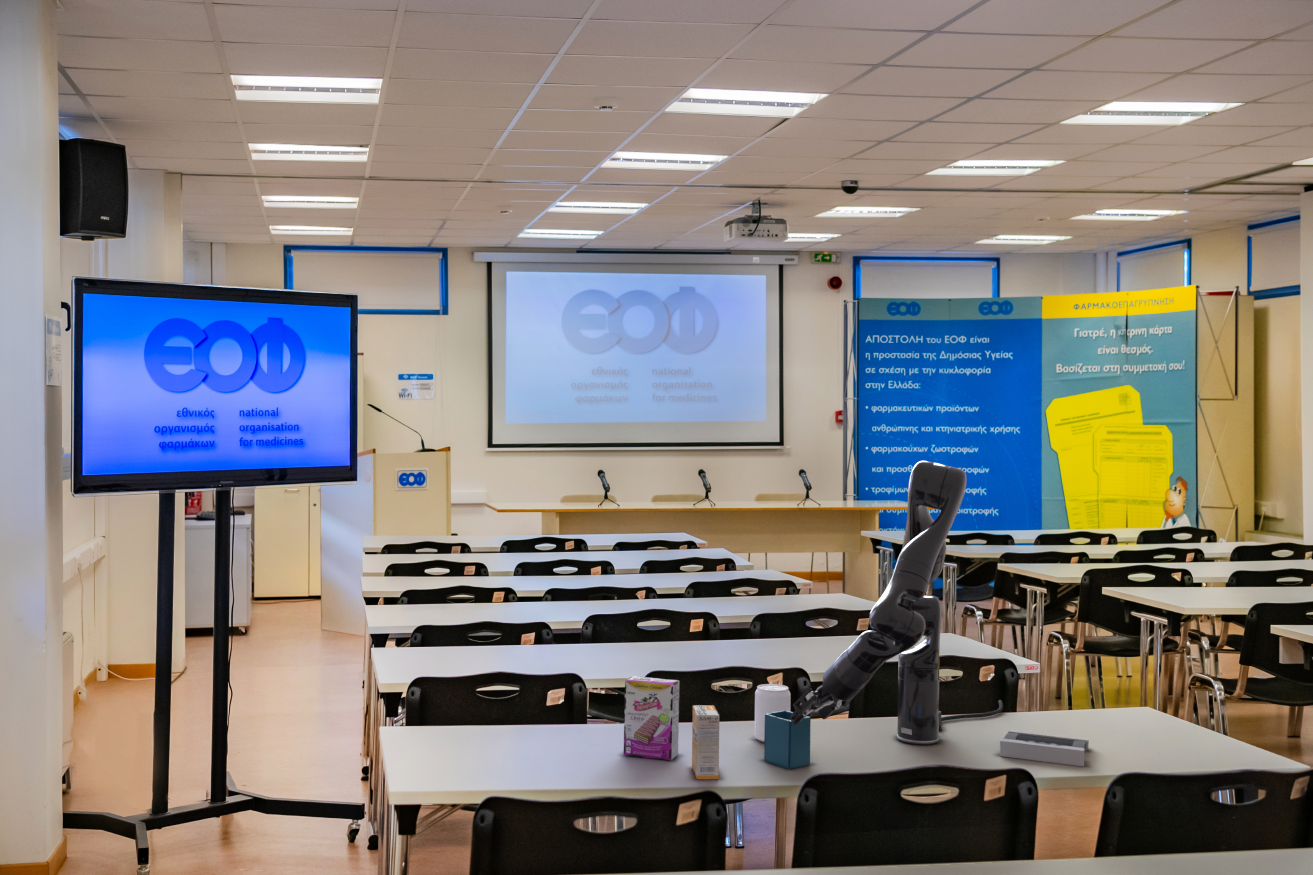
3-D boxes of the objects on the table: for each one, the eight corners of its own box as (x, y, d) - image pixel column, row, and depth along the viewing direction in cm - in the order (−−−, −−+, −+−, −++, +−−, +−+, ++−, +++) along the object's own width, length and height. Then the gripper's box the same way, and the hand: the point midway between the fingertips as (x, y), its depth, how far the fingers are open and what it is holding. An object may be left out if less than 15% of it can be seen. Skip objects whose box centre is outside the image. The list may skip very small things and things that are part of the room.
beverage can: (788, 745, 247) (789, 691, 247) (752, 742, 248) (753, 689, 248) (791, 736, 255) (792, 684, 255) (756, 733, 256) (757, 682, 256)
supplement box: (690, 767, 228) (691, 704, 228) (713, 767, 228) (714, 704, 228) (695, 779, 220) (696, 714, 220) (719, 779, 220) (720, 714, 220)
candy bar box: (622, 755, 236) (623, 679, 236) (630, 750, 241) (631, 675, 241) (671, 761, 232) (673, 683, 233) (679, 755, 237) (680, 679, 237)
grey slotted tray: (1000, 740, 240) (1009, 718, 255) (1000, 761, 241) (1009, 738, 255) (1083, 750, 233) (1088, 727, 248) (1083, 771, 233) (1088, 747, 248)
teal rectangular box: (764, 713, 234) (789, 721, 228) (785, 709, 238) (810, 716, 232) (764, 760, 234) (789, 769, 228) (784, 756, 238) (810, 764, 232)
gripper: (835, 692, 213) (792, 739, 222) (883, 683, 222) (840, 728, 231) (816, 661, 217) (774, 707, 226) (863, 653, 226) (821, 698, 235)
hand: (807, 718), depth 229 cm, fingers open, 8 cm apart
